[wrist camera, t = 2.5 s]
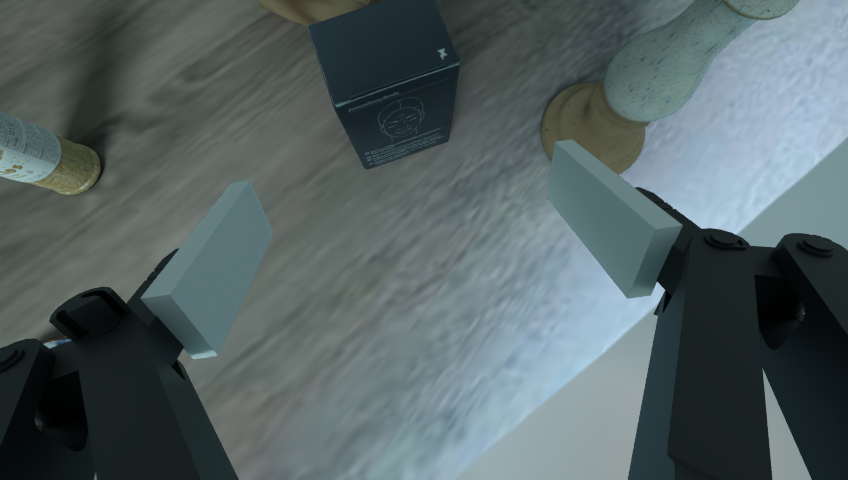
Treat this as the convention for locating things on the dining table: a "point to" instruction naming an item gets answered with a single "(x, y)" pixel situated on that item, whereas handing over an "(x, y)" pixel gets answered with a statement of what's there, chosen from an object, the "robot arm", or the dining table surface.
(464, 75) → the dining table surface
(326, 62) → the box
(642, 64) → the candle holder
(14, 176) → the sprinkles bottle
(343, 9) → the tan square block
